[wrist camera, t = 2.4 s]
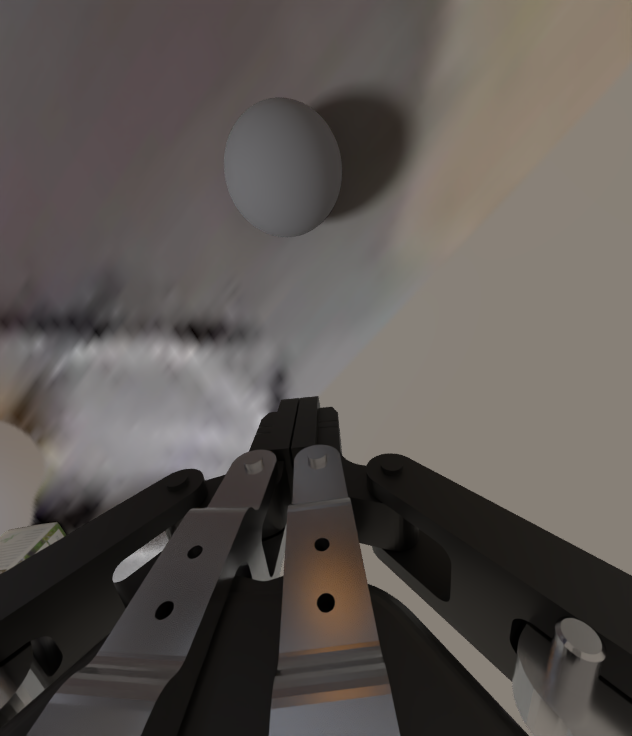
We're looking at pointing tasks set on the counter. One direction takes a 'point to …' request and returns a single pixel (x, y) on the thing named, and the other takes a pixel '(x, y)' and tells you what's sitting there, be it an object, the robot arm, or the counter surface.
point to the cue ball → (283, 167)
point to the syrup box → (26, 543)
